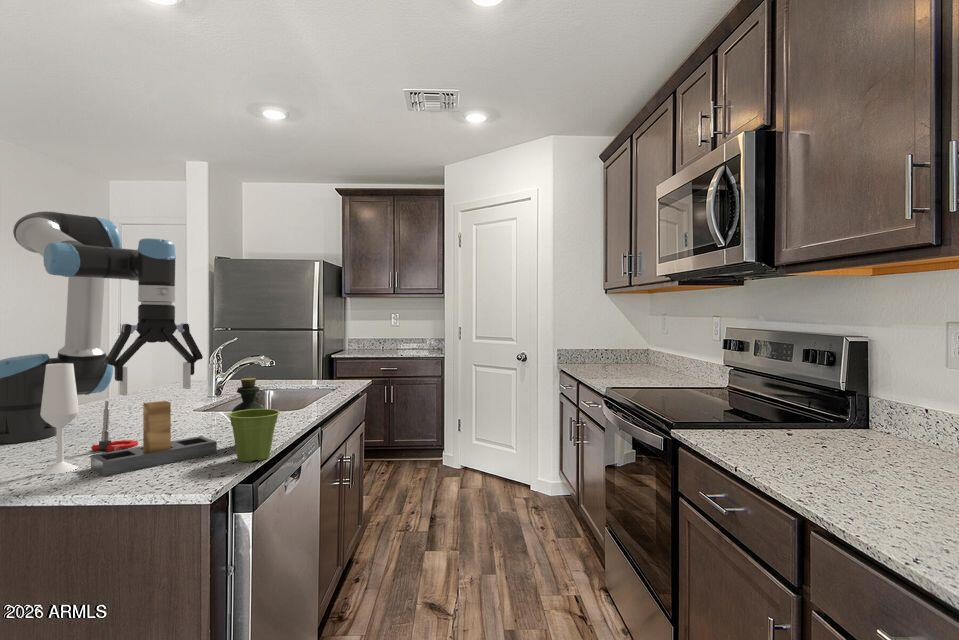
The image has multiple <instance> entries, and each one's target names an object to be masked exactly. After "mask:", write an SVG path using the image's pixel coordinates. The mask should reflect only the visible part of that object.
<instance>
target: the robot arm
mask: <svg viewBox="0 0 959 640" xmlns="http://www.w3.org/2000/svg"><path fill="white" fill-rule="evenodd" d="M119 231H120V230H119V229H118V227H117V226H116V224H115V223H114V222H113V221H112V220H110V219H107V218H103V217H102V218H101V217H96V216H89V215H88V216H87V215H82V214H81V215H79V214H74V213H73V214H71V213H66V212H65V213H63V212H57V211H38V212H32V213H29V214H25V215H24V216H23V217H20V218H19V219H18V220H17V221H16V222H15V224H14V225H13V230H12V234H13V237H14V239H15V241H16V242H17V244H18V245H20V246H21V247H22V248H23V249H25V250H27V251H29V252H31V253H36V254H39V255H40V256H42V257H43V266H44V268H45V271H46V273H47V274H48V275H51V276H60V277H65V278H68V281H67V282H68V283H67V296H66V297H67V298H66V299H67V300H66V301H67V302H66V314H65V315H66V316H65V332H64V333H65V334H64V336H65V337H64V345H63V346H62V347H61V348H60V349H59V350H57V357H50V356H49V354H48V353H35V354H25V355H19V356H14V357H13V356H11V357H7V358H2V359H0V445H2V444H3V445H4V444H17V443H25V442H26V443H27V442H32V441H37V440H43V439H44V440H45V439H48V438H51V437H53V436H57V428H56V427H53V426H51V425H50V424H48V423H47V422H45V421H44V420H43V418H42V417H41V415H40V413H41V405H42V396H43V388H44V379H45V370H46V365H47V364H58V363H73V366H74V374H75V382H76V391H77V396H81V395H82V396H83V395H85V396H87V395H88V396H89V395H90V394H97V393H103V392H104V391H105V390H106V389H107V388H108V387H109V385H110V384H111V382H112V379H113V374H114V380H115V381H116V382H119V395H120V396H128V366H125V364H126V363H128V361H129V360H130V359H131V358H132V357H133V356H134V355H135V354H136V353H137V352H138V351H139V350H140V348H141V347H143V345H145V344H146V343H166V342H167V343H169V344H170V345H171V346H172V347H173V348H174V349H175V351H177V352H178V353H179V355H180V356H181V357H183V359H184V360H185V361H184V362H182V388H183V389H184V390H190V389H191V388H192V387H191V384H192V383H191V382H192V381H191V379H192V378H191V376H194V374H195V363H196V362H197V361H199V360H203V358H204V356H203V353H202V352H201V350H200V348H199V347H198V345H197V343H196V341H195V340H194V337H193V335H192V334H191V330H190V325H189V323H185V322H184V323H180V324H177V323H176V307H175V305H174V304H173V303H175V302H176V258H177V255H176V246H175V243H174V242H173V241H171V240H168V239H162V238H141V239H140V240H139V241H138V247H137V249H130V248H122V241H121V235H120V232H119ZM106 279H112V280H113V279H115V280H129V281H137V282H138V286H137V287H138V288H137V289H138V290H137V295H138V296H137V300H138V302H139V303H140V304H138V306H137V324H134V325H133V324H129V323H123V324H122V325H121V331H120V334H119V335H118V337H117V339H116V341H115V343H114V344H113V346H112V347H111V349H110V351H109V353H108V354H107V350H106V349H104V347H102V346H101V341H102V326H103V313H104V312H103V309H104V291H105V280H106ZM176 330H177V331H178V333H181V336H182V337H183V340H184V342H185V344H186V345H187V347H188V349H189V351H190V352H189V351H188V350H187V349H186V347H185V346H183V345H182V343H181V342H180V341H179V340H178V338H177V337H176V336H175V335H174V334H175V332H176ZM135 331H136V332H137V333H138V334H139V335H138V336H137V337H136V338H135V340H134V341H133V342H132V344H131V345H130V346H128V347H127V348H126V350H125V351H124V352H123V353H122V354H121V352H122V350H123V349H124V347H125V345H126V343H127V341H128V340H129V338H130V336H131V335H132V334H134V332H135ZM120 354H121V355H120ZM119 355H120V356H119Z"/></svg>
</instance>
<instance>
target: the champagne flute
mask: <svg viewBox="0 0 959 640" xmlns="http://www.w3.org/2000/svg"><path fill="white" fill-rule="evenodd" d="M79 408H80V407H79V401H78V395H77V391H76V382H75V374H74V366H73V363H58V364H47V365H46V370H45V379H44V388H43V396H42V405H41V413H40V415H41V417H42V418H43V420H44V421H45V422H47V423H48V424H50V425H51V426H53V427H56V428H57V434H56V462H55V463H54V464H52V465H50V466H49V467H47V468H46V469H44V470H42V471H41V472H40V474H41V475H44V476H45V475H46V476H50V474H55V475H60V474H59V473H62V474H66V472H67V473H71V472H74V471H76V470H75V469H77V468H78V467H79V466H77V465H75V464H71V463H69V462H66V461H65V460H64V428H65V427H67V426H68V425H69V424H70V423H71V422H72V421H73V420H75V419H76V417H77V416H78V414H79V412H80V409H79ZM78 469H79V468H78ZM78 469H77V470H78ZM73 470H74V471H73ZM70 471H71V472H70Z"/></svg>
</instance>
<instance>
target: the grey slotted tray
mask: <svg viewBox="0 0 959 640" xmlns="http://www.w3.org/2000/svg"><path fill="white" fill-rule="evenodd" d="M217 451H218V450H217V441H216V440H213V439H210V438H208V437H204V436H202V435H200V436H195V437H188V438H184V439H176V440H172V441H171V448H170V449H164V450H159V451H153V452H146V451H144V450H143V445H142V446H134V447H130V448H124V449H118V450H117V451H106V452H102V453H101V452H100V453H95V454H91V455H90V469H91V470H92V471H94V472H96V473H97V474H99V475H100V476H102V477H107V476H111V475H116V474H120V473H121V474H122V473H126V472H130V471H135V470H141V469H145V468H151V467H155V466H160V465H165V464H166V465H167V464H171V463H174V462H175V463H177V462H180V461H186V460H190V459H195V458H200V457H206V456H210V455H215V454H218V453H217Z"/></svg>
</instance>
